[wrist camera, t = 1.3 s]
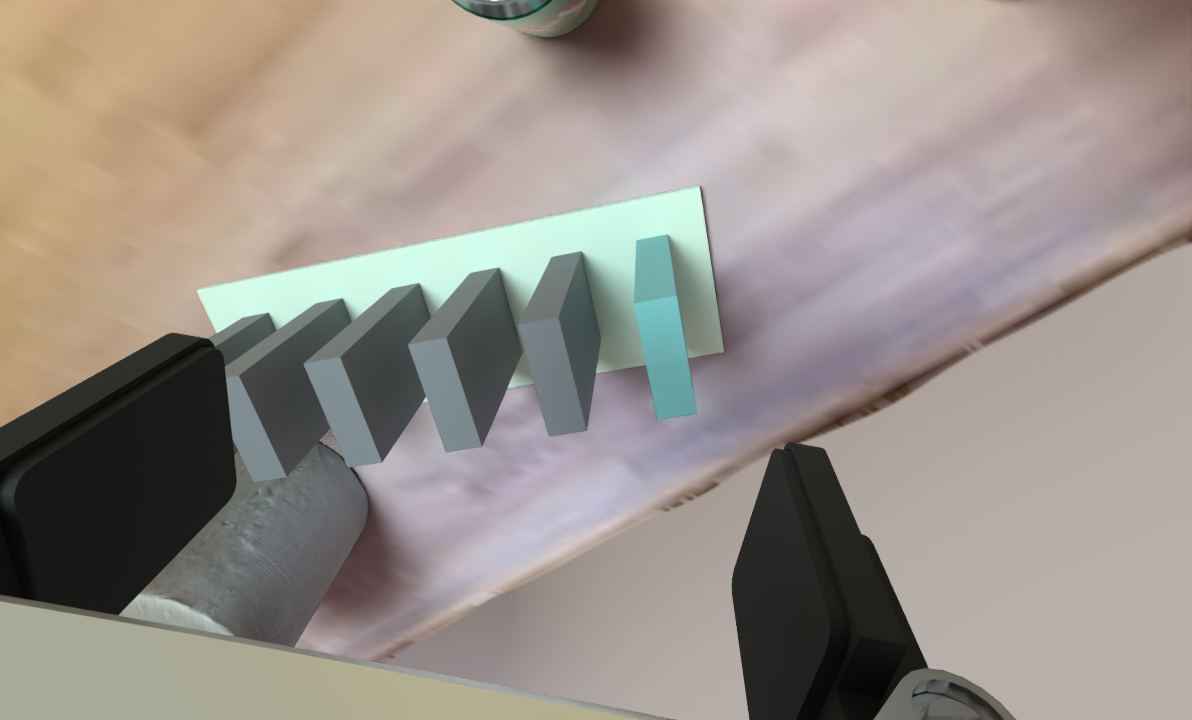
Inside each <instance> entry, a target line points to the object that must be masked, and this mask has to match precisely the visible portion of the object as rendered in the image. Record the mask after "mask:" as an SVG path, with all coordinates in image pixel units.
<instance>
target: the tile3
mask: <svg viewBox="0 0 1192 720" xmlns="http://www.w3.org/2000/svg"><path fill="white" fill-rule="evenodd" d="M408 347H409V350H410V352H411V355H412V358H413V361H414V364H415V367H416V369H417V372H418V375H419V378H420V381H421V383H422V386H423V389H424V392H425V395H426V398H427V400H428V403H429V406H430V409H431V412H432V415H433V417H434V420H435V423H436V426H437V429H438V431H439V434H440V437H441V440H442V443H443V446H444V448H445V451H446V452H452V451H459V450H465V449H472V448H478V447H482V446H483V443H484V441H485V439H486V437H487V434H488V432H489V430H490V427H491V425H492V423H493V420H494V418H495V416H496V413H497V411H498V409H499V406H500V404H501V402H502V399H503V397H504V395H505V392H506V390H507V388H508V386H509V383H510V381H511V379H512V376H513V374H514V372H515V369H516V367H517V365H518V362H519V360H520V358H521V355H522V353H523V352H522V348H521V345H520V341H519V338H518V334H517V331H516V327H515V323H514V320H513V316H512V313H511V309H510V306H509V302H508V299H507V295H506V291H505V288H504V284H503V281H502V277H501V274H500V270H499V267H498V268H492V269H487V270H482V271H477V272H472V273H470V274H469V275H468V276H467V277H466V278H465V279H464V280H463V282H462V283H461V284H460V285H459V286H458V287H457V289H456V290H455V291H454V292H453V293H452V294H451V295H450V297H449V298H448V299H447V300H446V301H445V302H444V304H443V305H442V306H441V307H440V308H439V309H438V310H437V312H436V313H435V314H434V315H433V316H432V317H431V319H430V320H429V321H428V322H427V323H426V324H425V325H424V327H423V328H422V329H421V330H420V331H419V332H418V334H417V335H416V336H415V337H414V338H413V339H412V340H411V342H410V343H409V344H408Z"/></svg>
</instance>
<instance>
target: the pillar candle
mask: <svg viewBox="0 0 1192 720" xmlns="http://www.w3.org/2000/svg"><path fill="white" fill-rule="evenodd" d="M234 457H235V467H236V476H237V484H236V489H235V492H234V494H233V496H232V498H231V499H230V501H229V502H228V503H227V504H226V505H225V506H224V507H223V508H222V509H221V510H220V511H219V512H218V513H217V514H216V515H215V516H214V517H213V518H212V520H211V521H210V522H209V523H208V524H207V525H206V526H205V527H204V528H203V529H202V530H201V531H200V532H199V533H198V534H197V535H196V536H195V537H194V538H193V539H192V540H191V541H190V542H189V543H188V544H187V545H186V546H185V547H184V548H183V549H182V550H181V551H180V552H179V553H178V555H177V556H176V557H175V558H174V559H173V560H172V561H171V562H170V563H169V564H168V565H167V566H166V567H165V568H164V569H163V570H162V571H161V572H160V573H159V574H158V575H157V576H156V577H155V578H154V579H153V580H152V581H151V582H150V583H149V584H148V585H147V586H146V587H145V588H144V590H143V591H142V592H141V593H140V594H139V595H138V596H137V597H136V598H135V599H134V600H133V601H132V602H131V603H130V604H129V605H128V606H127V607H126V608H125V609H124V610H123V611H122V612H121V613H120V614H119V615H118V616H124V617H129V618H135V619H140V620H146V621H152V622H157V623H163V624H168V625H174V626H180V627H185V628H191V629H197V630H202V631H208V632H213V633H219V634H224V635H230V636H235V637H241V638H246V639H252V640H257V641H263V642H268V643H274V644H279V645H285V646H290V647H295V645H296V643H297V642H298V640H299V638H300V636H301V635H302V633H303V631H304V630H305V628H306V626H307V625H308V623H309V621H310V619H311V618H312V616H313V614H314V613H315V611H316V609H317V608H318V606H319V604H320V602H321V601H322V599H323V597H324V596H325V594H326V592H327V590H328V589H329V587H330V586H331V584H332V582H333V581H334V579H335V577H336V576H337V574H338V572H339V571H340V569H341V567H342V565H343V564H344V562H345V560H346V558H347V557H348V555H349V553H350V552H351V550H352V548H353V546H354V545H355V543H356V542H357V540H358V538H359V537H360V535H361V533H362V531H363V529H364V527H365V524H366V520H367V517H368V498H367V494H366V492H365V490H364V488H363V486H362V485H361V483H360V482H359V480H358V479H357V477H356V476H355V474H354V473H353V472H352V470H351V469H350V468H348V467H347V465H346V463H345V462H344V460H343V459H342V458H341V457H340V456H339V455H338V454H336V453H335V452H334V451H332V450H331V449H330V448H328V447H326V446H324V445H323V444H321V443H318V442H317V444H316V445H315V446H314V447H313V448H312V449H311V450H310V451H309V453H308V454H307V455H306V456H305V457H304V458H303V459H302V461H301V462H300V463H299V464H298V465H297V466H296V467H295V468H294V470H293V471H292V472H291V473H290V474H289V475H288V476H287V477H284V478H278V479H271V480H265V481H258V482H254V481H253V479H252V477H251V475H250V473H249V471H248V469H247V467H246V465H245V463H244V461H243V459H242V457H241V455H240V453H239V451H238V452H237V453H236V454H235V455H234Z"/></svg>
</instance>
